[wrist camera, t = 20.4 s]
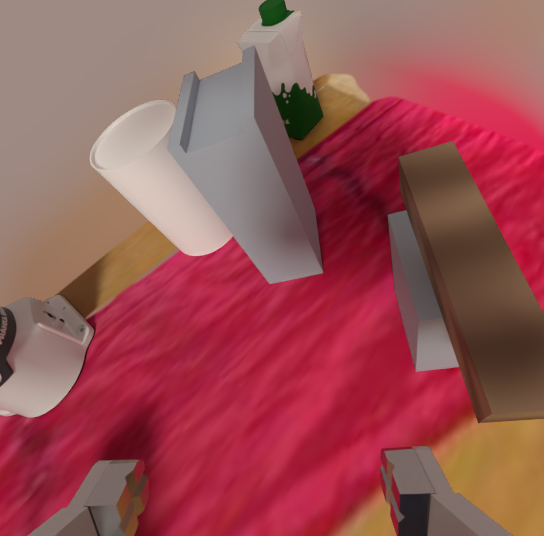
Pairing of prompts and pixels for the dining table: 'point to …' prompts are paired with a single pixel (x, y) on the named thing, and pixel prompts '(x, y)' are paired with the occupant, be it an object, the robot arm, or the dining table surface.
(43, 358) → the robot arm
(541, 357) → the walnut rail
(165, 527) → the dining table surface
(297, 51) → the milk carton
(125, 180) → the canister
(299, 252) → the bracket tower
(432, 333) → the gray rectangular block
